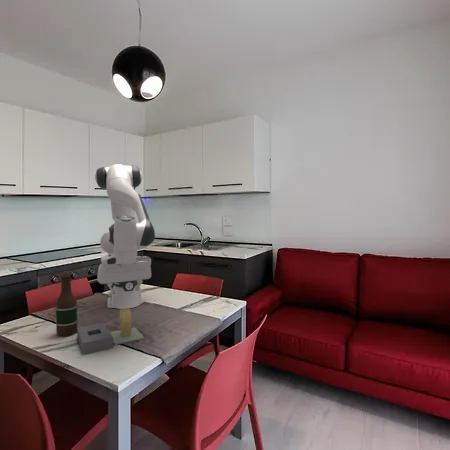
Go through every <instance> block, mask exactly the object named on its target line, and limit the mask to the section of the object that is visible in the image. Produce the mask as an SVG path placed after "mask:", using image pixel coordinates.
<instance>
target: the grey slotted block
mask: <svg viewBox="0 0 450 450" xmlns="http://www.w3.org/2000/svg"><path fill="white" fill-rule="evenodd" d="M110 332H111V331H110V330H109V329H108V327H107V325H106V323H104V322H102V323H95V324H91V325H84V326H80V327H77V333H76V334H77V335H76V336H77V337H76V338H77V340H78V344H79V346H80V350H81V352H82V355H86V354H91V353H96V352H100V351H105V350H110V349H113V348H114V343H113V336H112V335H111V333H110Z"/></svg>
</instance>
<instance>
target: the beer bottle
mask: <svg viewBox="0 0 450 450" xmlns="http://www.w3.org/2000/svg"><path fill="white" fill-rule="evenodd" d="M71 275H72V274H70V273H63V274H61V275H60V278H61V285H60V286H61V287H60V294H59V296H58V297H57V299H56V303H55V319H56V320H55V326H56V329H55V331H56V335H57V336H58V337H64V338H65V337H70V336H73V335H75V334H77V328H78V303H77V299H76V297H75V296H74V294H73V291H72V281H71V278H72V276H71Z"/></svg>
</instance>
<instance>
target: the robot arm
mask: <svg viewBox="0 0 450 450" xmlns="http://www.w3.org/2000/svg"><path fill="white" fill-rule="evenodd" d="M95 171H96V172H95V174H94V179H95V182H96V184H97V186H98V188H101V189H105V190H106V194H107V197H108V199H109V200H110V207H111V217H112V218H111V219H112V220H113V222H114V223H113V224H111V225H110V226H109V227H108V232H105V233H103V234H102V236H101V238H100V240H99V241H100V243H99V244H100V247H101V249H102V250H103V251H104V253H107V254H106V255H103V256H101V257H100V262H101V263H100V264H99V266H98V269H97V278H96V280H97V282H98V283H99V284H100V285H106V284H107V286H108V288H109V290H110V291H109V292H108V298H107V300H106V301H107V305H106V306H107V307H106V308H108V309H119V310H120V309H126V308H129V309H133V308H137V307H139V306H140V305H141V304H143V303H145V300H144V299H142V287H141V285H142V284H143V280H149V279H151V277H152V268H151V265H152V258H151V257H150V256H147V255H143V256H141V255H140V256H139V255H138V251H140V250H144V249H145V248H147V247H149V246H151V244H153V242H155V237H156V232H155V231H156V230H155V229H154V225H153V223H152V222H151V219H150V216H149V214H148V211H147V208H146V205H145V201H144V199H143V198H142V195H141V194H139V193H138V192H137V191H135V190H136V188H137V187H139V186H140V185H141V183H142V180H143V173H142V171H141V169H140V167H139V166H138V165H133V164H132V165H125V164H119V163H116V164H112V165H110V166H107V167H106V166H103V167H99V168H97V170H95ZM136 216H137V217H136ZM137 220H138V221H137ZM112 286H113V287H112Z"/></svg>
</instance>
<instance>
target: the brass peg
mask: <svg viewBox="0 0 450 450" xmlns="http://www.w3.org/2000/svg"><path fill="white" fill-rule="evenodd" d="M131 328H132V310H131V308H126V309H119V330H120V335H121V336H122V337H126V336H131Z"/></svg>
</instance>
